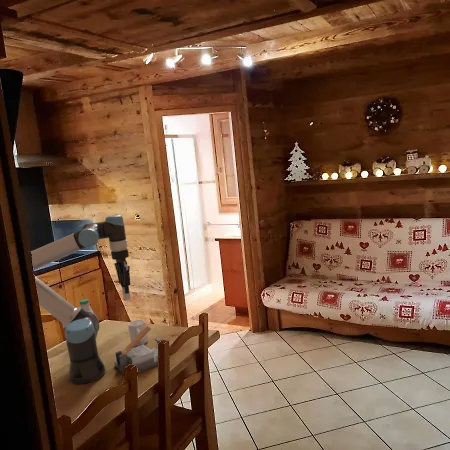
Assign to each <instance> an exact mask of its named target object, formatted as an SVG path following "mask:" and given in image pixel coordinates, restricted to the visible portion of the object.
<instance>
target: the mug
mask: <svg viewBox="0 0 450 450" xmlns="http://www.w3.org/2000/svg"><path fill="white" fill-rule="evenodd" d="M127 325H128V326H127V327H128V332H129V333H128V334H129V340H130V343H131V342H132V341H133V340H134V339H135V338H136V337H137V336H138V335H139V334H140V333H141V332H142V331H143V330H144V329H145V328H146V327H147V324H146V321H145V320H144V319H134V320H132V321H129V323H128V324H127ZM148 341H149V339H148V333H147V334H146V335H145V336H144V337H143V338H142V339H141V340H140V341H139V342H138V343H137V344H136V345H135V346H134V347H139V346H142V345H145V344H147V343H148Z"/></svg>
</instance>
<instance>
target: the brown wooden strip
mask: <svg viewBox="0 0 450 450" xmlns="http://www.w3.org/2000/svg"><path fill="white" fill-rule="evenodd" d="M150 331H151V327H149V326H148V325H146V328H145V329H144V330H143V331H142V332H141V333H140V334H139V335H138V336H137V337H136V338H135V339H134V340H133V341H132V342H131V341H130V343H129V344H128V345H127V346H126V347H125V348H124V349H123V350H121V354H125V355H126V354H127V353H128V352H129V351H130V350H131V349H133V348H135V347H136V346H135V345H136V344H137V343H138V342H139V341H140V340H141V339H142V338H143V337H144V336H145V335H146V334H147V335H148V333H149V332H150ZM119 356H120V354H119V355H118V357H119Z"/></svg>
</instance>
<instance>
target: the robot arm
mask: <svg viewBox="0 0 450 450" xmlns="http://www.w3.org/2000/svg"><path fill="white" fill-rule="evenodd" d="M125 228H126V227H125V222H124V217H123V215H120V214H113V215H109V216H106V217H105V221H104V220H103V221H99V222H91V223H84V224H80V225H79V226H78V231H76V232H73V233H71V234H68V235H67V236H64V237H62V238H59V239H57V240H55V241H53V242H49V243H47V244H45V245H43V246H41V247H39V248H36V249H34V250H31V251H30V252H31V254H32V263H33V268H34V271H35V270H38V269H40V268H43V267H45V266H48V265H50V264H51V263H54V262H56V261H58V260H60V259H63V258H65V257H67V256H70V255H72V254H74V253H77V252H79V251H81V250H85V249H87V248H91V247H93V246H96V245H97V244H98V243H99V240H102V239H108V243H109V249H110V255H111V259H112V260H114V261H115V262H114V263H113V265H114V268H115V271H116V276H117V280H118V283H119V285H120V286H121V291H122V298H123V301H125V302H126V301H129V300H131V292H130V287H129V286H131V275H130V273H131V272H130V269H131V266H130V265H128V262H127V258H129V256H130V253H129V249H128V242H129V241H128V240H127V236H126V235H127V234H126V229H125ZM34 276H35V279H36V285H37V292H38V298H39V305H40V306H39V305H38V306H39V307H41V308H42V309H43V310H45V311H46V312H47V313H48V314H50V315H51V316H52V317H54V318H55V319H56V320H58V321H59V322H60V323H61V325H62V328H63V329H64V337H65V341H66V347H67V352H68V357H69V368H68V374H67V377H68V381H69V382H70V384H73V385H86V384H90V383H92V382H94V381H97V380H99V379H100V378H102V377H103V376H104V375H105V374H106V367H105V364H104V362H103V360H102V359H101V357H100V355H99V350H98V346H97V336H98V333H99V330H100V321H99V318H98V316H97V315H96V313H94V312H93V313H92V312H90V311H85V310H84V309H82V308H81V306H77V307H75V306H74V305H73V304H72V303H71V302H69V301H68V300H66V299H65V298H64V297H63V296H61V295H60V294H58V293H57V292H56V291H55V290H54V289H53V288H51V287H50V286H48V284H46V283H45V282H43V281H42V280H40V279H39V278H38V277H37V276H36V275H34Z"/></svg>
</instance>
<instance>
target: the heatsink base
mask: <svg viewBox="0 0 450 450" xmlns="http://www.w3.org/2000/svg"><path fill="white" fill-rule="evenodd" d="M162 340H163V341H164V339H163V338H161V337H156V338H154V341H155V342H157V345H158V343H159V342H160V341H162ZM121 352H122V350H119V351H117V352H114V353H115V358H116V361H114V362H113V363H114V367H115V368H116V369H117V371H119V372H120V373H122V375H124V369H125V367H126V366H128V365H129V364H133V365H136V366H137V368H138V372H139V371H142V372H144V371H147V370H150V369H152V368H154V367H157V366H159V365H158V347H155V346H154V347H152V348H149V347H148V346H147V345H145V344H143V345H139V346H135V347H133V348H132V349H131V350H130V351H129V352H128V353H127V354H126V355H125V354H121ZM119 354H120V356H119V357H118V355H119ZM149 368H150V369H149ZM146 369H147V370H146ZM143 370H144V371H143ZM139 373H140V372H139Z"/></svg>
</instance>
